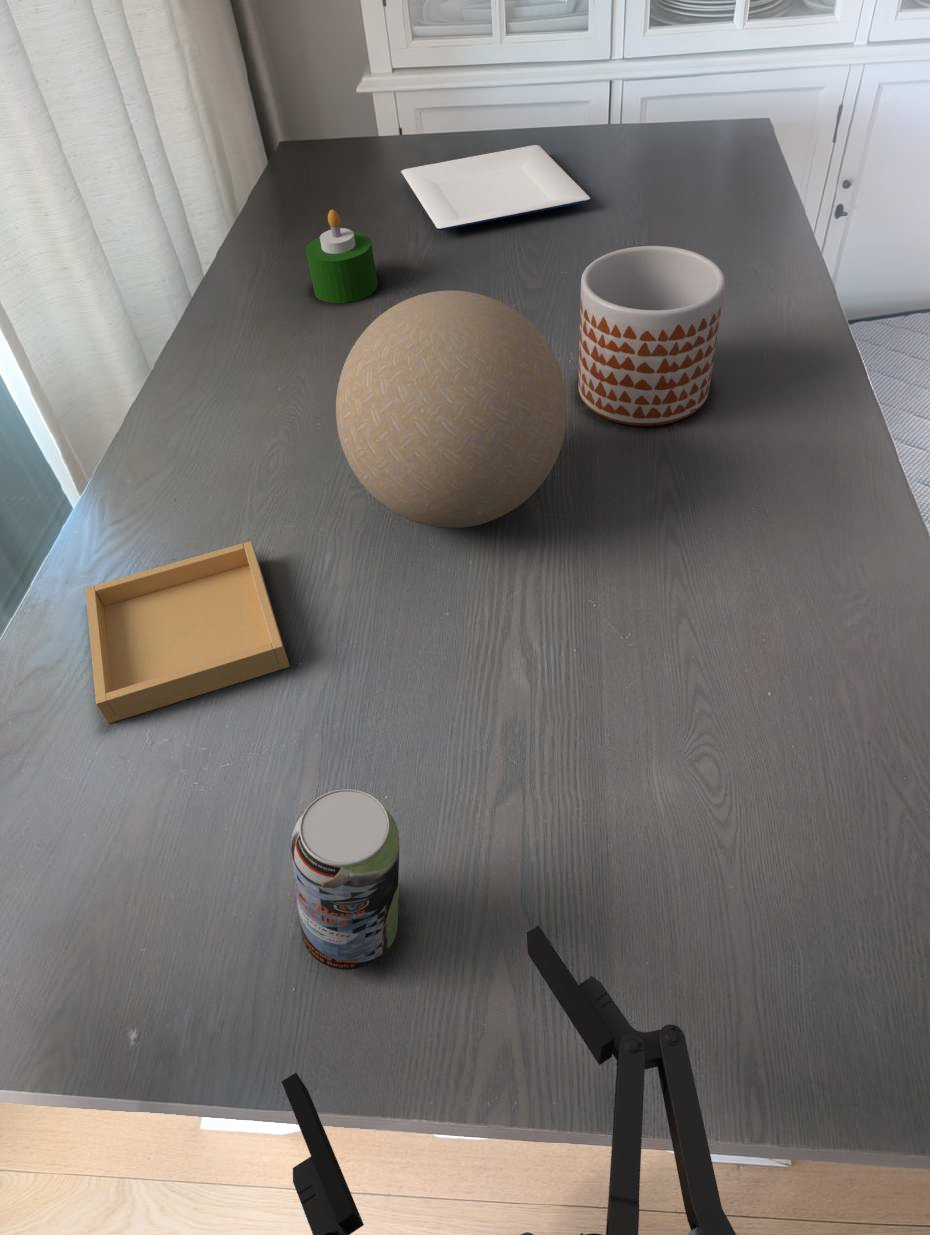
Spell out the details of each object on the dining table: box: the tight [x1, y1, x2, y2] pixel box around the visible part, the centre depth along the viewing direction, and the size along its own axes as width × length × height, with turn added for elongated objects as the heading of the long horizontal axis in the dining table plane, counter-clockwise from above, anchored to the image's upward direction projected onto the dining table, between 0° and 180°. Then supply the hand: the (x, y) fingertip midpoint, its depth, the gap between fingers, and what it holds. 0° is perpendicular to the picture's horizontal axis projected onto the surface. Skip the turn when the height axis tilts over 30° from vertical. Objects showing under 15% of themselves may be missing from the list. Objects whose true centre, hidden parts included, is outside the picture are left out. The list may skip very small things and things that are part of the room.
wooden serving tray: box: [84, 540, 290, 724], centre depth 75 cm, size 15×14×3 cm
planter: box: [578, 245, 726, 427], centre depth 91 cm, size 14×14×13 cm
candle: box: [305, 209, 378, 304], centre depth 113 cm, size 8×8×10 cm
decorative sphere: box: [335, 290, 568, 529], centre depth 78 cm, size 20×20×20 cm
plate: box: [400, 144, 591, 231], centre depth 132 cm, size 22×22×2 cm
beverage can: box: [290, 788, 400, 971], centre depth 53 cm, size 6×7×12 cm
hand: (418, 1008), depth 45 cm, fingers open, 13 cm apart
